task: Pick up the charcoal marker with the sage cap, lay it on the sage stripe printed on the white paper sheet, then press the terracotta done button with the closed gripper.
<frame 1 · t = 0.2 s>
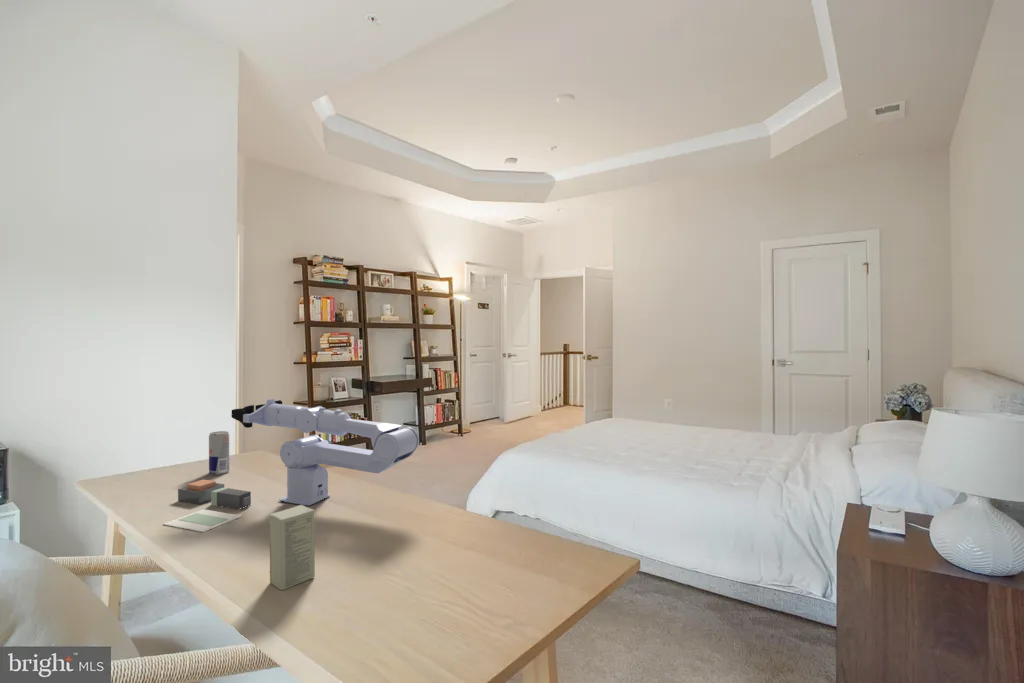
hand: (244, 411, 139), 21 cm above the table, tool horizontal, fingers open, 7 cm apart
done button: (201, 486, 133), point 3 cm above the table, slide at 0.0 cm
button housing: (201, 498, 133), on the table
paper sheet: (203, 520, 118), on the table
marker: (231, 505, 128), on the table
energy drink: (219, 473, 156), on the table
skincare box: (292, 581, 90), on the table
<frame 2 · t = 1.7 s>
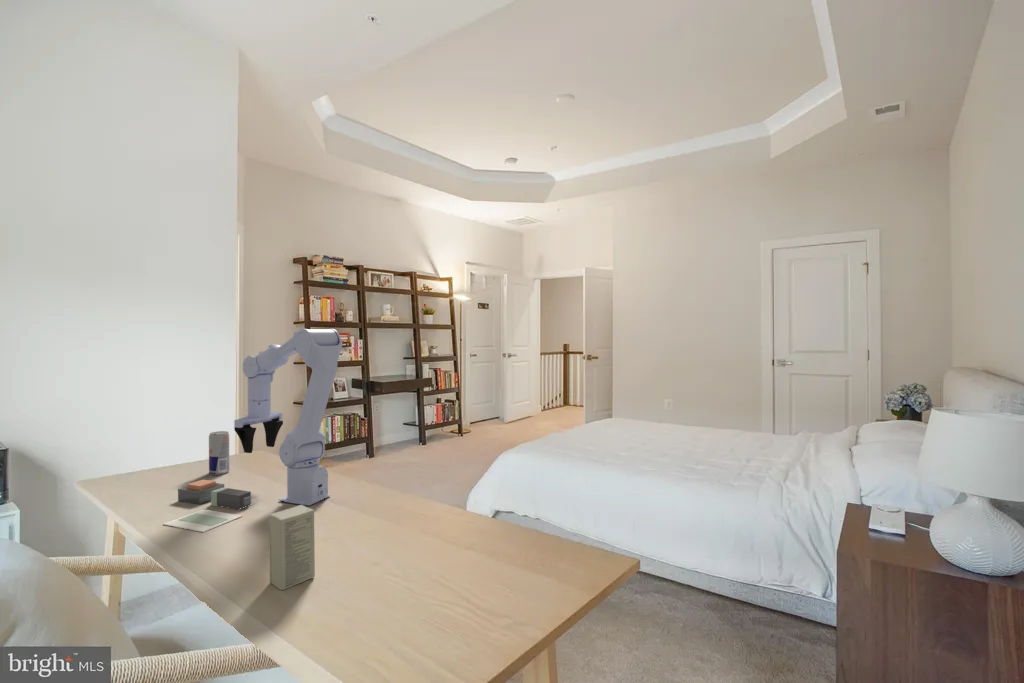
hand: (259, 449, 142), 10 cm above the table, tool pointing down, fingers open, 7 cm apart
nothing on the table moved.
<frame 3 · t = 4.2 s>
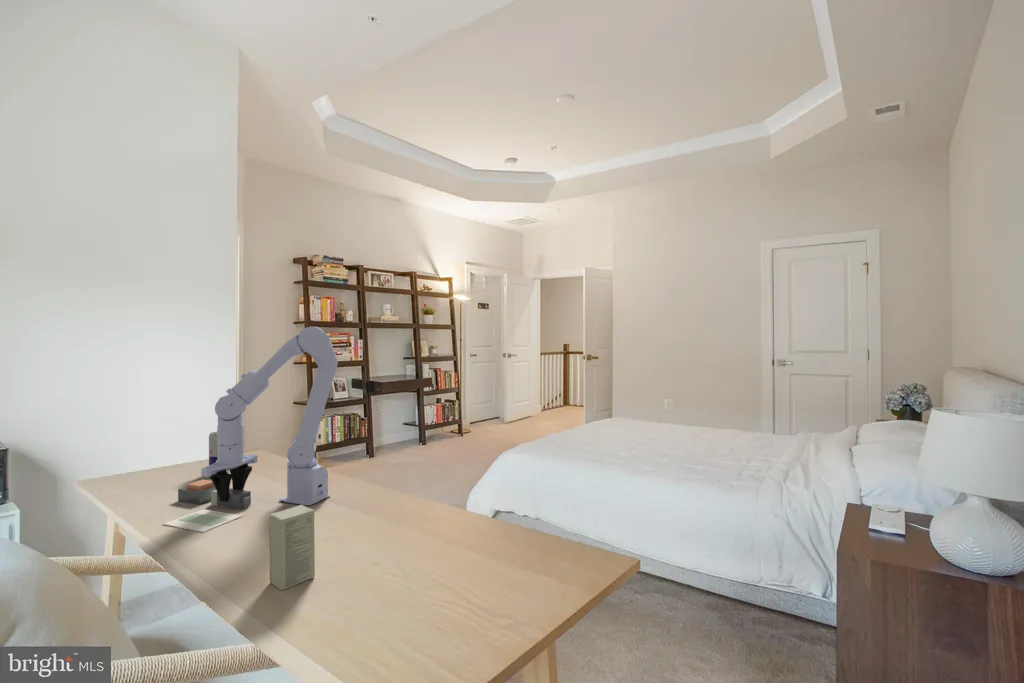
hand: (230, 498, 128), 2 cm above the table, tool pointing down, fingers closed on marker, 3 cm apart
marker: (231, 504, 128), on the table, touching gripper
everything else where it was.
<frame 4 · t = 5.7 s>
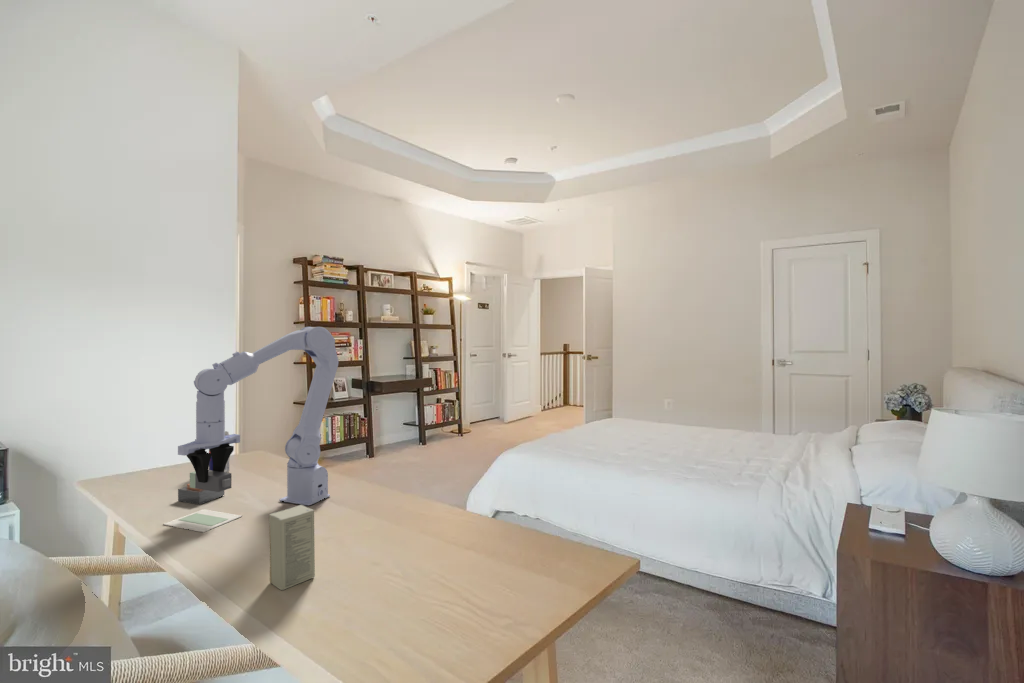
hand: (210, 479, 120), 8 cm above the table, tool pointing down, fingers closed on marker, 3 cm apart
marker: (210, 487, 120), point 7 cm above the table, touching gripper
everything else where it was.
when the fingers open (3 cm above the table, at t = 7.3 s): marker stays where it is, resting on paper sheet.
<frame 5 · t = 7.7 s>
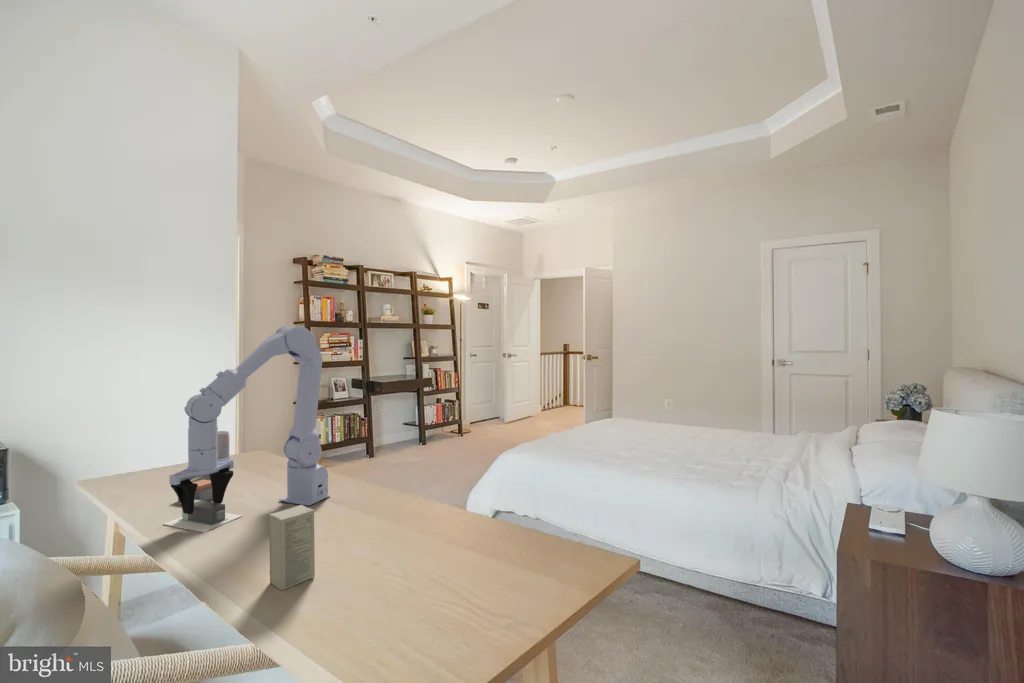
hand: (203, 507, 118), 3 cm above the table, tool pointing down, fingers open, 7 cm apart
marker: (203, 519, 118), resting on paper sheet
everything else where it was.
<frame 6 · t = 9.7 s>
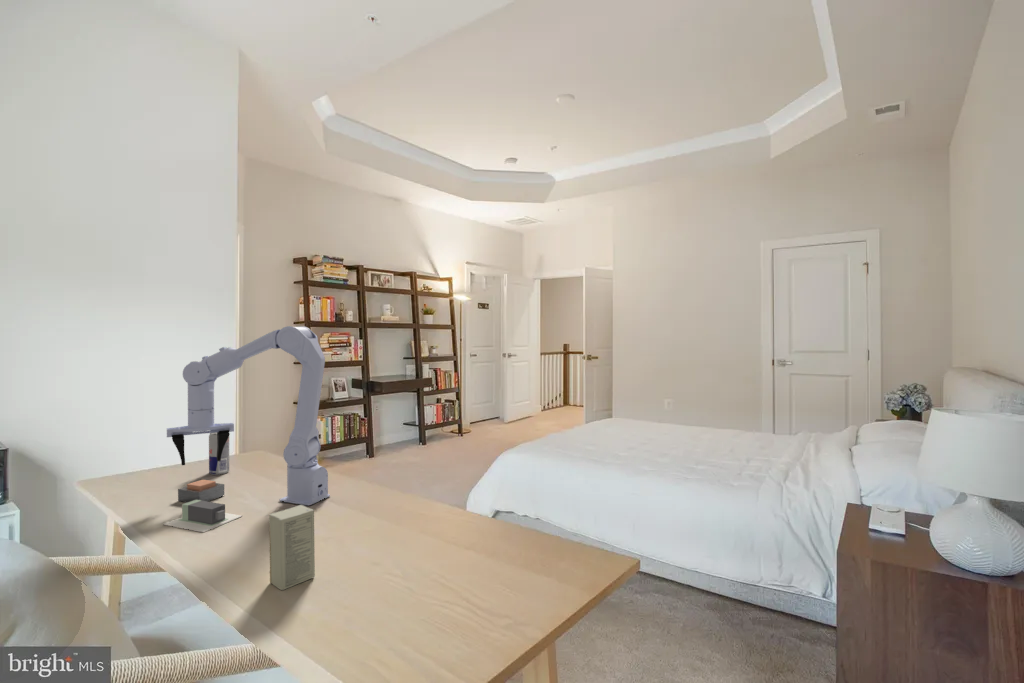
hand: (201, 462, 132), 9 cm above the table, tool pointing down, fingers open, 7 cm apart
nothing on the table moved.
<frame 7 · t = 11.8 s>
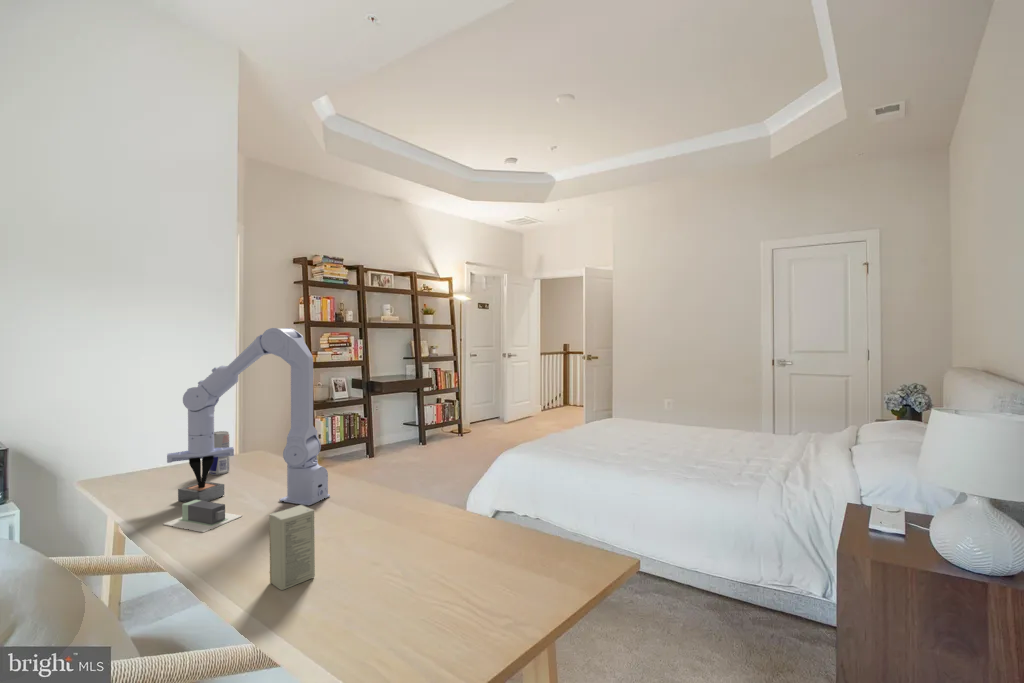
hand: (201, 486, 133), 3 cm above the table, tool pointing down, fingers closed, pressing on done button
done button: (201, 490, 133), point 2 cm above the table, slide at 1.0 cm, touching gripper
everything else where it was.
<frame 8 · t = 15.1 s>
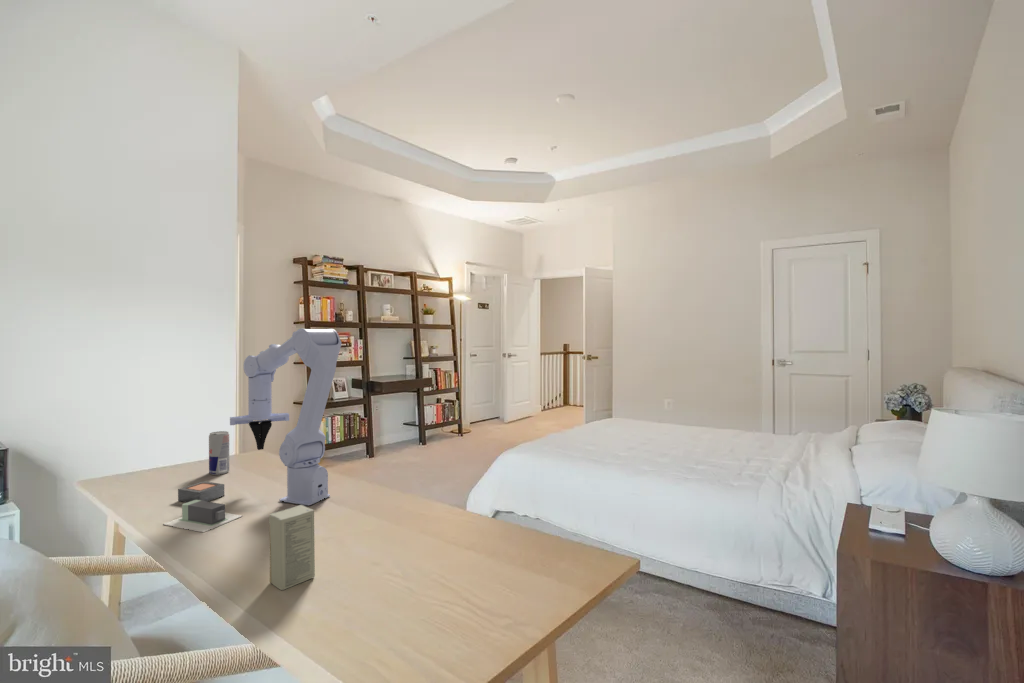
hand: (260, 448, 143), 10 cm above the table, tool pointing down, fingers closed
done button: (201, 490, 133), point 2 cm above the table, slide at 1.0 cm
everything else where it was.
at the end: marker 0.0 cm off-centre on the paper sheet, point 0.3 cm above the paper sheet's base; marker touching paper sheet; done button slide at 1.0 cm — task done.
